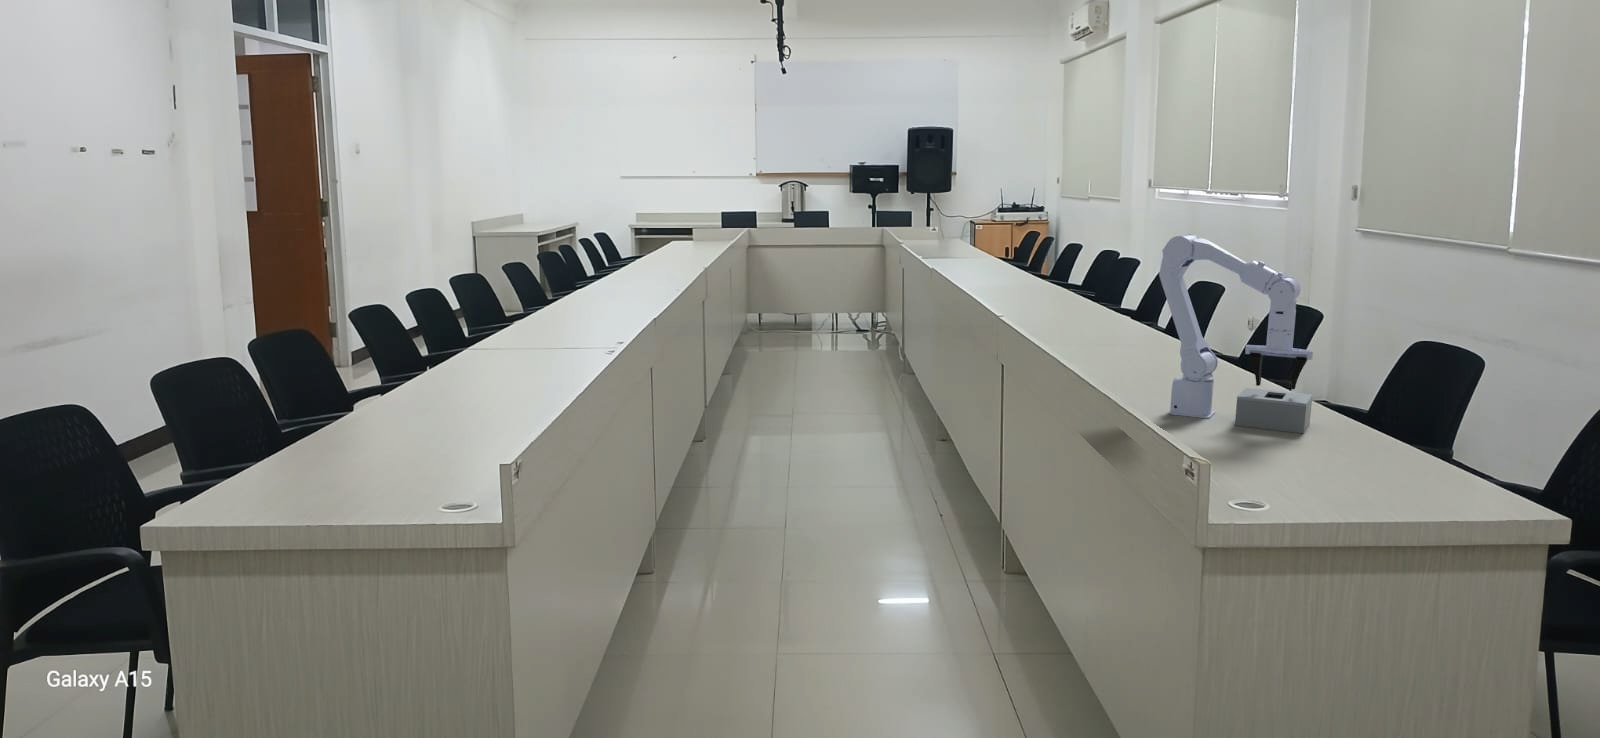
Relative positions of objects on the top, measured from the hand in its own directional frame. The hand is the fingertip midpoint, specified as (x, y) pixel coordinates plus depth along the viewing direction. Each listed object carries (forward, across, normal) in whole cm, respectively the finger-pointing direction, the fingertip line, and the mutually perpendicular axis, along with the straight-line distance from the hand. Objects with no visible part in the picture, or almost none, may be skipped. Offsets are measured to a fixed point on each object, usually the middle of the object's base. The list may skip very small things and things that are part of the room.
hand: (1275, 386), depth 273 cm
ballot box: (+9, 0, 0) cm, 9 cm away
